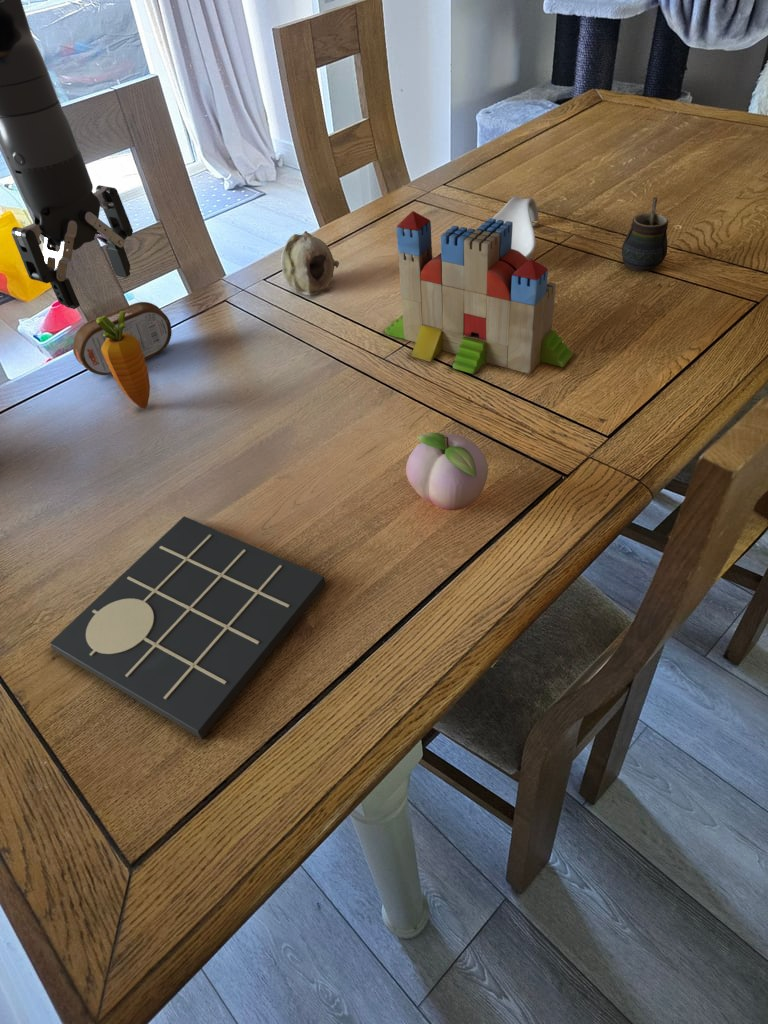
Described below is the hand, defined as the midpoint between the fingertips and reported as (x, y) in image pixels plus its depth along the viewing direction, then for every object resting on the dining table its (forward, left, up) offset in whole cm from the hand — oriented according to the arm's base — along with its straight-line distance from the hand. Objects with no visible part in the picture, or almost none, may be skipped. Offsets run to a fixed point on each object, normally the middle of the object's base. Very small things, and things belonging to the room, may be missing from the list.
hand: (98, 290), depth 87 cm
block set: (+36, +34, -18) cm, 53 cm away
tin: (-11, +8, -18) cm, 23 cm away
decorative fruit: (+48, +2, -18) cm, 51 cm away
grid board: (+32, -25, -18) cm, 44 cm away
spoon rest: (+28, +65, -18) cm, 73 cm away
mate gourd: (+51, +68, -18) cm, 87 cm away
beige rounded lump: (+2, +40, -18) cm, 44 cm away
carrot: (0, 0, -18) cm, 18 cm away
